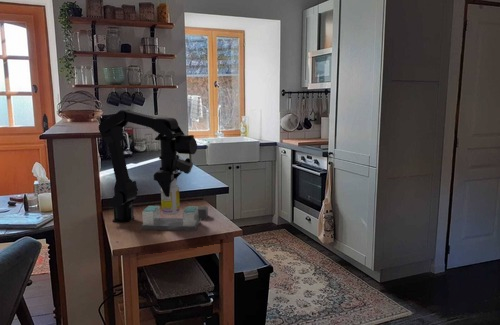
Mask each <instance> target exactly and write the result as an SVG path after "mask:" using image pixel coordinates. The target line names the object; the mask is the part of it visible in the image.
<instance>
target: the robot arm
mask: <svg viewBox="0 0 500 325" xmlns="http://www.w3.org/2000/svg"><path fill="white" fill-rule="evenodd" d="M128 123H131V124H136V125H139V126H142V127H146V128H150V129H151V130H153V131H154V132H156V133H157V134H158V135H157V136H156V137H155V138H154V140H155V141H159V142H160V144H159V145H160V146H159V147H160V155H159V158H158V159H159V160H160V164H161V165H160V167H159V170H157V171H156V172H155V173H154V174H153V181H155V182H156V183H158V185H159V187H160V189H161V188H162V190H163V192H164V194H165V196H166V197H169V194H170V186H171V182H172V181H173V180H174V179H173V178H176V182H177V181H178V178H179V176H180V175H181V174H182V172H183V173H184V174H187V175H188V174H190V173H191V172H192V169H193V166H194V163H193V162H192V158H189V157H187V158H185V159H180V155H179V154H182V155H183V154H184V155H195V153H196V152H197V150H198V143H197V140H196V138H195V136H194V134H189V135H188V134H187V135H186V134H185V133H184V131H183V130H182V129H181V126H179V122H178V121H177V119H176V118H174V117H157V116H156V117H155V116H153V115H147V114H144V113H140V112H137V111H132V110H130V109H121V110H119V111H117V112H116V113H115V114H114V115H111V116H110V117H108V118H107V119H104V120H102V121H101V122H100V123H99V124H98V131H99V133H100V136H101V138H102V140H103V141H104V142H105V143H106V145H107V147H108V151H109V156H110V160H111V165H112V168H113V173H114V177H115V183H114V187H113V191H114V195H113V197H112V198H111V199H110V200H109V201H108V202H109V203H108V204H109V206H110V207H111V208H113V219H112V222H115V223H128V222H130V221H131V220H132V219H133V218H134V217H135V215H134V207H133V206H132V205H133V203H135V200H136V197H137V196H138V191H139V189H138V186H137V182H136V180H134V181H133V180H132V179H131V177H130V176H129V171H128V167H127V164H126V158H125V154H124V150H123V145H122V139H123V135H124V131H123V128H125V127H126V126H127V125H128Z"/></svg>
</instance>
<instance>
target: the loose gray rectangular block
mask: <svg viewBox="0 0 500 325" xmlns="http://www.w3.org/2000/svg"><path fill="white" fill-rule="evenodd" d="M194 207H198V219H200V220H207V218H208V216H209V215H208V214H209V206H194Z"/></svg>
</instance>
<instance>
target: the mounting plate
mask: <svg viewBox="0 0 500 325" xmlns="http://www.w3.org/2000/svg"><path fill="white" fill-rule="evenodd" d="M198 207H199V206H198ZM198 207H195V206H186V207H185V209H184V210H183V212H182V217H181V218H177V217H176V218H175V217H161V206H160V205H148V206H147V207H146V208H144V209H143V210H142V211H141V213H142V224H141V227H140V229H141V230H144V231H145V230H153V231H157V230H158V231H187V232H188V231H193V232H195V231H196V230H197V229H198V226H199V225H200V223H201V219H198Z"/></svg>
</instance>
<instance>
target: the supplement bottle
mask: <svg viewBox="0 0 500 325" xmlns="http://www.w3.org/2000/svg"><path fill="white" fill-rule="evenodd" d="M173 179H174V180H173V181H172V182H171V186H170V194H169V197H166V196H165V194H164V192H163V190H162V188H161V187H160V198H161V199H160V201H161V202H160V203H161V213H162V214H163V215H168V216H169V215H170V216H171V215H176V214H179V213H180V211H181V209H180V208H181V204H180V202H181V200H180V188H179V187H180V186H179V185H177V181H176V178H173Z"/></svg>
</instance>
